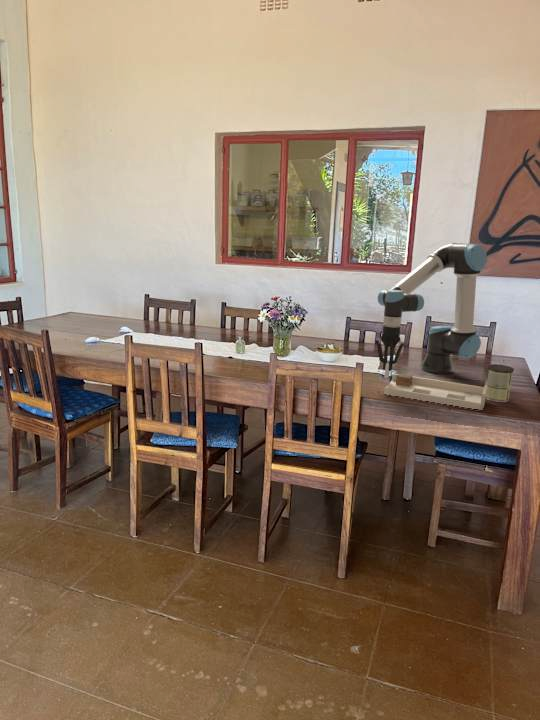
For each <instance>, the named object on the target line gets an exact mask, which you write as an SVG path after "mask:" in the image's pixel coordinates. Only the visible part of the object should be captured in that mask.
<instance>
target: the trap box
mask: <svg viewBox="0 0 540 720" xmlns="http://www.w3.org/2000/svg"><path fill="white" fill-rule="evenodd" d="M398 374H399V373H392V381H391V382H390V381H389V383H387V385H386V386H385V387H384V391H383V392H384V393H383V395H384V394H386V395H385V396H389V395H391V397H395V396H399V397H398V398H401V397H405V398H404V399H407V398H411V399H410V400H413V399H417V400H416V401H419V400H422V401H421V402H425V401H429V402H428V403H431V402H435V403H434V404H437V403H441V404H440V405H443V404H447V405H446V406H449V405H453V406H452V407H455V406H459V407H458V408H461V407H465V408H464V409H467V408H472V409H471V410H473V409H479V410H483V411H484V409H483V408H485V404H486V400H487V399H486V393H487V386H488V385H486V384H484V386H479V385H471V384H466V383H460V382H453V381H445V380H439V379H432V378H426V377H421V376H420V377H419V376H413V375H412V383H411V385H410V387H407V386H401V385H396V376H397V375H398ZM479 410H478V411H479Z"/></svg>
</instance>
